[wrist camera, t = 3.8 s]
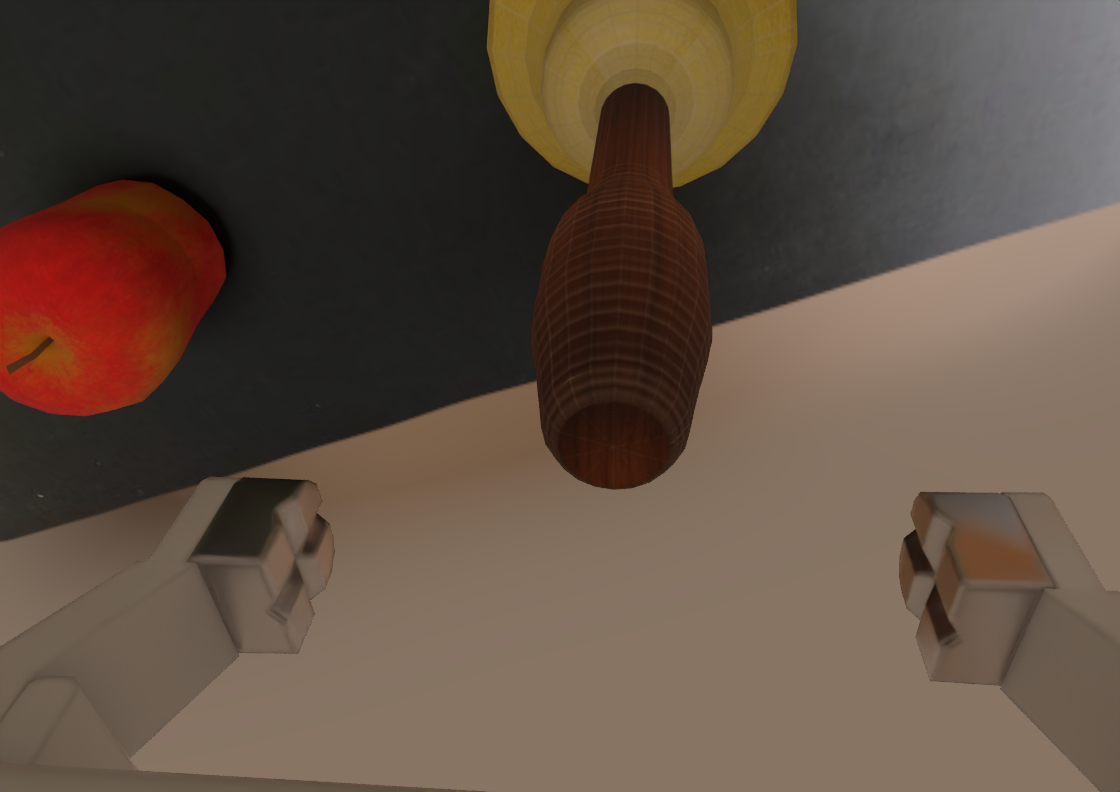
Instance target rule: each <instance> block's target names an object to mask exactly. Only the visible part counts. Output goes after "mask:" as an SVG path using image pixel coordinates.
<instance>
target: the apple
mask: <svg viewBox="0 0 1120 792" xmlns="http://www.w3.org/2000/svg"><path fill="white" fill-rule="evenodd" d="M225 278H226V269H225V259H224V250H223V248H222V246H221V244H220V243H219V241H218V239H217V237H216V235H215V233H214V231H213V229H212V227H211V225H210V224H209V222H208V221H207V220H205V219H204V218H203V217H202V216H201V215H200V214H199V213H198V212H196V211H195V210H194V209H193V208H192V207H191V206H190V205H188V204H187V203H186V202H185V201H184V200H183V199H181V198H179V197H177V196H175V195H174V194H172V193H170V192H168V191H167V190H165V189H163V188H161V187H159V186H158V185H156V184H154V183H149V182H140V181H131V180H118V181H114V182H110V183H106V184H101V185H97V186H95V187H93V188H91V189H89V190H86V191H84V192H82V193H80V194H78V195H76V196H74V197H72V198H70V199H68V200H66V201H64V202H62V203H60V204H57V205H54V206H52V207H49V208H47V209H44V210H42V211H39V212H36V213H34V214H31V215H29V216H26V217H24V218H21V219H19V220H16V221H14V222H12V223H10V224H8V225H6V226H4V227H2V228H0V391H2V392H3V393H4V394H6V395H7V396H8V397H10V398H11V399H12V400H13V401H16V402H19V403H22V404H25V405H27V406H30V407H33V408H36V409H39V410H42V411H45V412H47V413H50V414H62V415H77V416H89V415H93V414H97V413H102V412H106V411H111V410H114V409H118V408H121V407H125V406H128V405H132V404H135V403H139V402H142V401H144V400H145V399H146V398H147V397H148V396H149V395H150V394H151V393H152V392H153V391H154V390H155V389H156V388H157V387H158V386H159V385H160V384H161V383H162V382H163V381H164V380H165V378H166V377H167V376H168V374H169V373H170V372H171V370H172V369H173V368H174V366H175V365H176V364H177V362H178V361H179V360H180V358H181V356H182V354H183V352H184V350H185V348H186V346H187V344H188V342H189V340H190V338H191V336H192V334H193V332H194V330H195V328H196V326H197V325H198V323H199V322H200V320H201V319H202V317H203V316H204V314H205V313H206V312H207V310H208V309H209V307H210V306H211V304H212V303H213V301H214V300H215V299H216V297H217V295H218V293H219V291H220V289H221V287H222V285H223V282H224V280H225Z"/></svg>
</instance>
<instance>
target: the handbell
mask: <svg viewBox="0 0 1120 792" xmlns="http://www.w3.org/2000/svg"><path fill="white" fill-rule="evenodd" d="M796 47H797V0H490V6H489V21H488V36H487V51H488V55H489V59H490V64H491V68H492V72H493V77H494V81H495V85H496V90H497V94H498V97H499V98H500V100H501V102H502V104H503V105H504V107H505V109H506V111H507V112H508V114H509V116H510V118H511V119H512V121H513V123H514V125H515V126H516V128H517V130H518V132H519V134H520V135H521V137H522V138H523V139H524V140H526V141H527V142H528V143H529V144H530V145H531V146H532V147H533V148H534V149H535V150H536V151H537V152H538V153H539V154H540V155H541V156H543V157H544V158H545V159H546V160H547V161H548V162H549V163H550V164H551V165H552V166H553V167H555V168H557V169H559V170H561V171H563V172H565V173H567V174H569V175H571V176H573V177H575V178H577V179H579V180H581V181H583V182H585V183H587V184H588V189H587V194H585V195H583V196H581V197H580V198H579V199H578V200H577V201H576V202H575V203H574V204H573V205H572V206H571V207H570V208H569V209H568V210H567V211H566V212H565V213H564V214H563V216H562V218H561V220H560V222H559V224H558V226H557V228H556V230H555V232H554V233H553V235H552V237H551V239H550V242H549V245H548V248H547V252H546V256H545V259H544V263H543V267H542V272H541V279H540V284H539V289H538V294H537V297H536V300H535V306H534V315H533V323H532V331H531V342H532V355H533V361H534V366H535V371H536V377H537V389H538V398H539V408H540V420H541V429H542V432H543V436H544V440H545V444H546V445H547V447H548V448H549V450H550V451H551V453H552V454H553V456H554V457H555V459H556V460H557V461H558V462H559V463H560V465H561V466H562V467H563V468H564V469H565V470H566V471H567V472H569V473H570V474H571V475H573V476H574V477H575V478H576V479H578V480H580V481H582V482H585V483H587V484H590V485H592V486H595V487H601V488H607V489H627V488H634V487H637V486H640V485H643V484H646V483H649V482H651V481H652V480H654V479H655V478H657V477H658V476H660V475H661V474H663V473H664V472H665V471H666V470H667V469H668V468H669V467H671V466H672V465H673V464H674V463H675V461H676V460H677V459H678V457H679V456H680V455H681V453H682V452H683V450H684V449H685V447H686V443H687V440H688V436H689V432H690V428H691V424H692V419H693V414H694V409H695V405H696V401H697V397H698V393H699V388H700V386H701V383H702V379H703V376H704V372H705V369H706V365H707V362H708V357H709V352H710V347H711V343H712V322H711V312H710V299H709V287H708V276H707V267H706V259H705V252H704V246H703V241H702V239H701V237H700V234H699V232H698V230H697V228H696V226H695V224H694V222H693V220H692V218H691V215H690V213H689V212H688V211H687V210H686V209H685V208H684V207H683V206H682V205H681V204H680V203H679V202H678V201H677V200H676V199H675V198H674V197H673V188H674V187H680V186H682V185H684V184H686V183H689V182H691V181H693V180H695V179H697V178H699V177H701V176H704V175H706V174H708V173H710V172H712V171H714V170H716V169H718V168H721V167H722V166H723V165H724V164H725V163H727V162H728V161H729V160H730V159H731V158H732V157H733V156H734V155H736V154H737V153H738V152H739V151H740V150H741V149H742V148H743V147H745V146H746V145H747V144H748V143H749V142H750V141H751V140H752V139H754V138H755V137H756V136H757V135H758V133H759V131H760V130H761V128H762V127H763V125H764V123H765V122H766V120H767V119H768V117H769V116H770V114H771V112H772V111H773V109H774V108H775V106H776V104H777V103H778V101H779V100H780V98H781V96H782V95H783V93H784V90H785V86H786V82H787V79H788V75H789V72H790V68H791V65H792V61H793V58H794V54H795V51H796Z"/></svg>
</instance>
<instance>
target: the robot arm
mask: <svg viewBox="0 0 1120 792" xmlns="http://www.w3.org/2000/svg"><path fill="white" fill-rule="evenodd" d="M321 503H322V498H321V495H320V493H319V490H318V487H317V484H316V483H314V482H312V481H309V480H291V479H269V478H268V479H267V478H246V477H243V478H228V477H208V478H207V479H205V480H203V481H201V482H200V483H199V485H198V486H197V488H196V489H195V491H194V492H193V494H192V495H191V497H190V498H189V500H188V501H187V503H186V505H185V506H184V507H183V509H182V510H181V512H180V513H179V515H178V516H177V518H176V519H175V521H174V522H173V524H172V525H171V527H170V528H169V530H168V531H167V533H166V534H165V536H164V538H163V539H162V540H161V542H160V543H159V545H158V546H157V548H156V549H155V551H154V553H153V554H152V556H151V557H150V558H149V560H148V561H136V562H135V563H133V564H132V565H130V566H128V567H127V568H125V569H124V570H122V571H120V572H119V573H117V574H116V575H114V576H112V577H111V578H109V579H108V580H106V581H104V582H103V583H101V584H100V585H98V586H96V587H95V588H93V589H92V590H90V591H89V592H87V593H85V594H84V595H82V596H81V597H79V598H77V599H76V600H74V601H72V602H71V603H69V604H68V605H66V606H64V607H63V608H61V609H60V610H58V611H56V612H55V613H53V614H52V615H50V616H48V617H47V618H45V619H44V620H42V621H40V622H39V623H37V624H36V625H34V626H33V627H31V628H29V629H28V630H26V631H24V632H23V633H21V634H20V635H18V636H17V637H15V638H13V639H12V640H10V641H8V642H7V643H5V644H4V645H2V646H0V792H482V791H467V790H450V789H449V790H448V789H434V788H417V787H400V786H384V785H367V784H351V783H334V782H317V781H300V780H284V779H267V778H250V777H234V776H215V775H200V774H183V773H167V772H150V771H138V769H137V768H136V766H135V765H134V763H133V762H132V760H131V759H130V758H131V757H132V756H133V755H134V754H135V753H136V752H137V751H138V750H139V749H141V748H142V747H143V746H144V745H145V744H146V743H147V742H148V741H149V740H150V739H151V738H152V737H153V736H155V735H156V733H158V732H159V731H160V730H161V729H162V728H163V727H164V726H165V725H166V724H167V723H168V722H169V721H171V720H172V719H173V717H175V716H176V715H177V714H178V713H179V712H180V711H181V710H182V709H183V708H184V707H186V705H188V704H189V703H190V702H191V701H192V700H193V699H194V698H195V697H196V696H197V695H198V694H199V693H200V692H201V691H203V690H204V689H205V688H206V687H207V686H208V685H209V684H210V683H211V682H212V681H213V680H214V679H215V678H216V677H217V676H219V675H220V674H221V673H222V672H223V671H224V670H225V669H226V668H227V667H228V666H229V665H230V664H231V663H233V662H234V661H235V660H236V659H237V658H238V657H239V654H238V653H284V654H287V653H288V654H298V653H299V651H300V649H301V646H302V644H303V641H304V639H305V636H306V634H307V632H308V629H309V627H310V625H311V622H312V620H313V617H314V615H315V613H314V611H313V607H312V605H311V602H310V600H311V599H313V598H314V597H315V596H317V595H318V594H319V593H320V592H322V591H323V590H324V589H325V588H326V586H327V583H328V580H329V578H330V575H331V572H332V567H333V560H334V553H335V550H334V538H333V534H332V530H331V527H330V524H329V523H328V522H327V521H326V520H325V519H323V518H322V517H321V516H320V515H319V514H317V512H318V510H319V507H320V505H321ZM911 517H912V520H913V522H914V525H915V528H916V529H915V530H914V531H913V532H911V533H910V534H909V535H907V536H906V537H905V538H904V540H903V544H902V548H901V553H900V562H899V566H900V567H899V578H900V584H901V590H902V594H903V598H904V601H905V605H906V608H907V609H908V610H909V611H910V612H912V613H913V614H914V615H915V616H916V617H917V618H919V619H920V620H921V621H920V624H919V627H918V631H917V634H916V640H917V642H918V646H919V649H920V652H921V655H922V658H923V661H924V664H925V667H926V670H927V673H928V677H929V679H930V681H941V682H955V683H969V684H970V683H971V684H984V685H999V686H1001V688H1000V689H1001V690H1002V691H1003V692H1004V693H1005V694H1006V695H1007V696H1008V697H1009V699H1010V700H1012V702H1014V704H1016V706H1017V707H1018V708H1019V709H1020V710H1021V711H1022V712H1023V713H1024V714H1025V715H1026V716H1027V717H1028V718H1029V719H1030V720H1031V721H1032V722H1033V723H1034V724H1035V725H1036V726H1037V727H1038V728H1039V729H1040V730H1041V731H1042V732H1043V733H1044V734H1045V735H1046V737H1047V738H1048V739H1049V740H1050V741H1051V742H1052V743H1053V744H1054V745H1055V746H1056V747H1057V748H1058V749H1059V750H1060V751H1061V752H1062V753H1063V754H1064V755H1065V756H1066V757H1067V758H1068V759H1069V760H1070V761H1071V762H1072V763H1073V764H1074V765H1075V766H1076V767H1077V768H1078V769H1079V770H1080V771H1081V773H1083V775H1084V776H1085V777H1086V778H1088V780H1089V781H1090V782H1091V783H1092V784H1093V785H1094V786H1095V787H1096V788H1097V789H1098V790H1099V791H1100V792H1120V592H1119V591H1105V589H1104V587H1103V586H1102V584H1101V583H1100V581H1099V579H1098V577H1097V575H1096V574H1095V572H1094V570H1093V569H1092V567H1091V565H1090V564H1089V562H1088V560H1087V558H1086V557H1085V555H1084V553H1083V552H1082V550H1081V548H1080V546H1079V545H1078V543H1077V541H1076V540H1075V538H1074V536H1073V535H1072V533H1071V531H1070V529H1069V528H1068V526H1067V524H1066V523H1065V521H1064V519H1063V517H1062V516H1061V514H1060V512H1059V511H1058V509H1057V507H1056V505H1055V504H1054V502H1053V500H1052V499H1051V498H1050V497H1049V496H1048V495H1046V494H1045V493H1001V494H999V493H965V492H963V493H960V492H920V493H919V495H918V496H917V497H916V499H915V500H914V504H913V507H912V511H911ZM483 792H484V791H483Z"/></svg>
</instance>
